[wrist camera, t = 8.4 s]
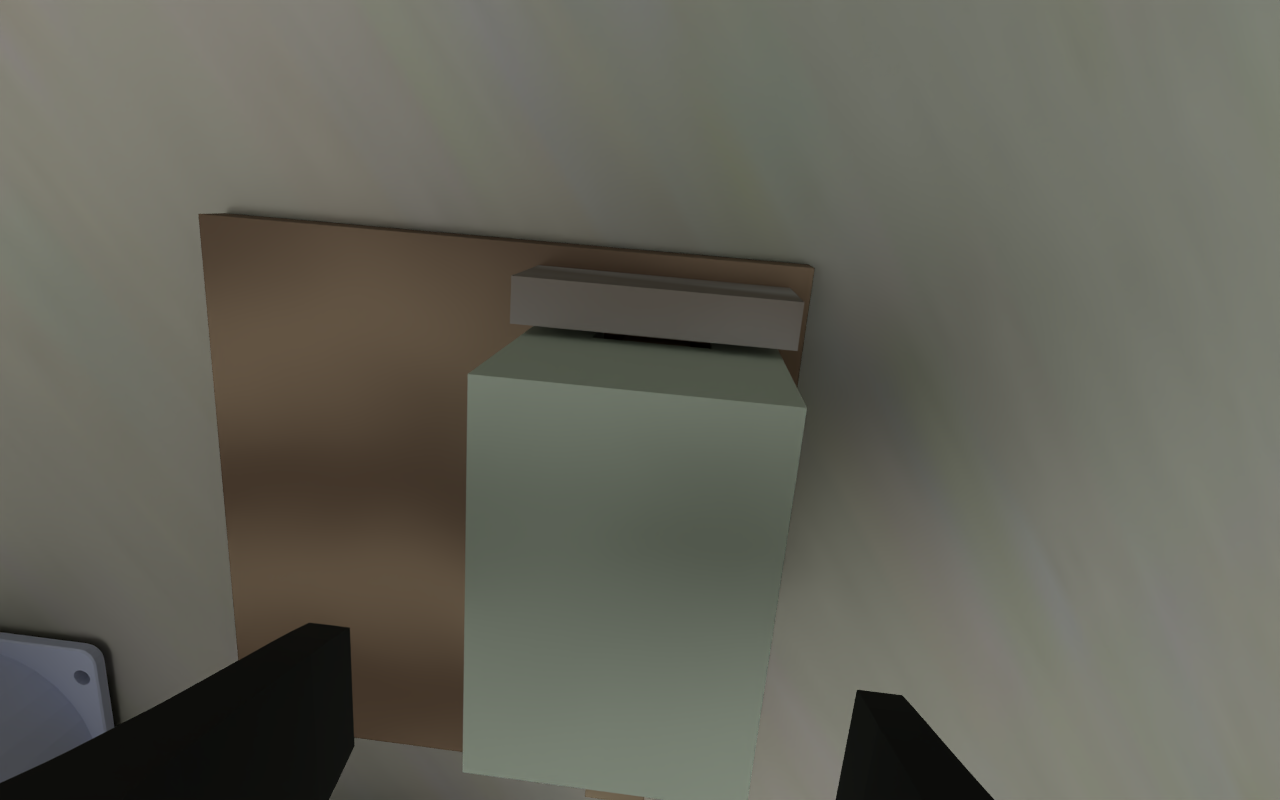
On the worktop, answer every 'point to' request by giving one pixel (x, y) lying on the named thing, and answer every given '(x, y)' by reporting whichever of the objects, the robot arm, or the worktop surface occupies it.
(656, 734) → the cabinet block
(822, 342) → the worktop surface
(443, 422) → the cleat board
